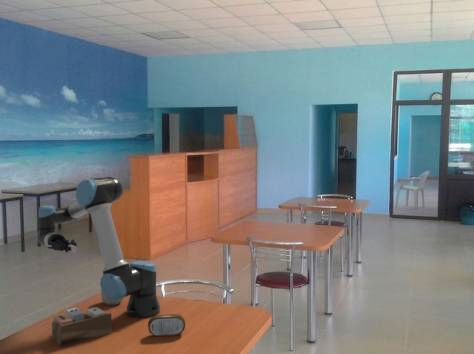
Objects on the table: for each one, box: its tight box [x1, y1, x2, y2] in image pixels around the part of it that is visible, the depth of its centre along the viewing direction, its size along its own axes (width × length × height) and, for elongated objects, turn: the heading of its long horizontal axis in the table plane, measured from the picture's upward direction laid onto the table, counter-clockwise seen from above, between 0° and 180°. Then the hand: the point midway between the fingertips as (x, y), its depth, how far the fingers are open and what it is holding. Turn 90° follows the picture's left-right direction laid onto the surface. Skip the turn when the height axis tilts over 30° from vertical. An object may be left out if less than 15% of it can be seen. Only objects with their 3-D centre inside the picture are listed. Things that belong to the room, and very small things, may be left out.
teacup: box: [99, 288, 124, 306], centre depth 250 cm, size 14×11×8 cm
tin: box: [147, 313, 186, 337], centre depth 210 cm, size 15×3×8 cm, turn 100°
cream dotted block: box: [86, 306, 106, 318], centre depth 214 cm, size 8×4×6 cm, turn 41°
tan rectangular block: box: [53, 314, 73, 326], centre depth 205 cm, size 8×4×6 cm, turn 41°
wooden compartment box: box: [51, 312, 113, 347], centre depth 208 cm, size 10×21×8 cm, turn 131°
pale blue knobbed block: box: [65, 307, 85, 322], centre depth 213 cm, size 8×4×6 cm, turn 41°
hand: (75, 250), depth 228 cm, fingers closed
